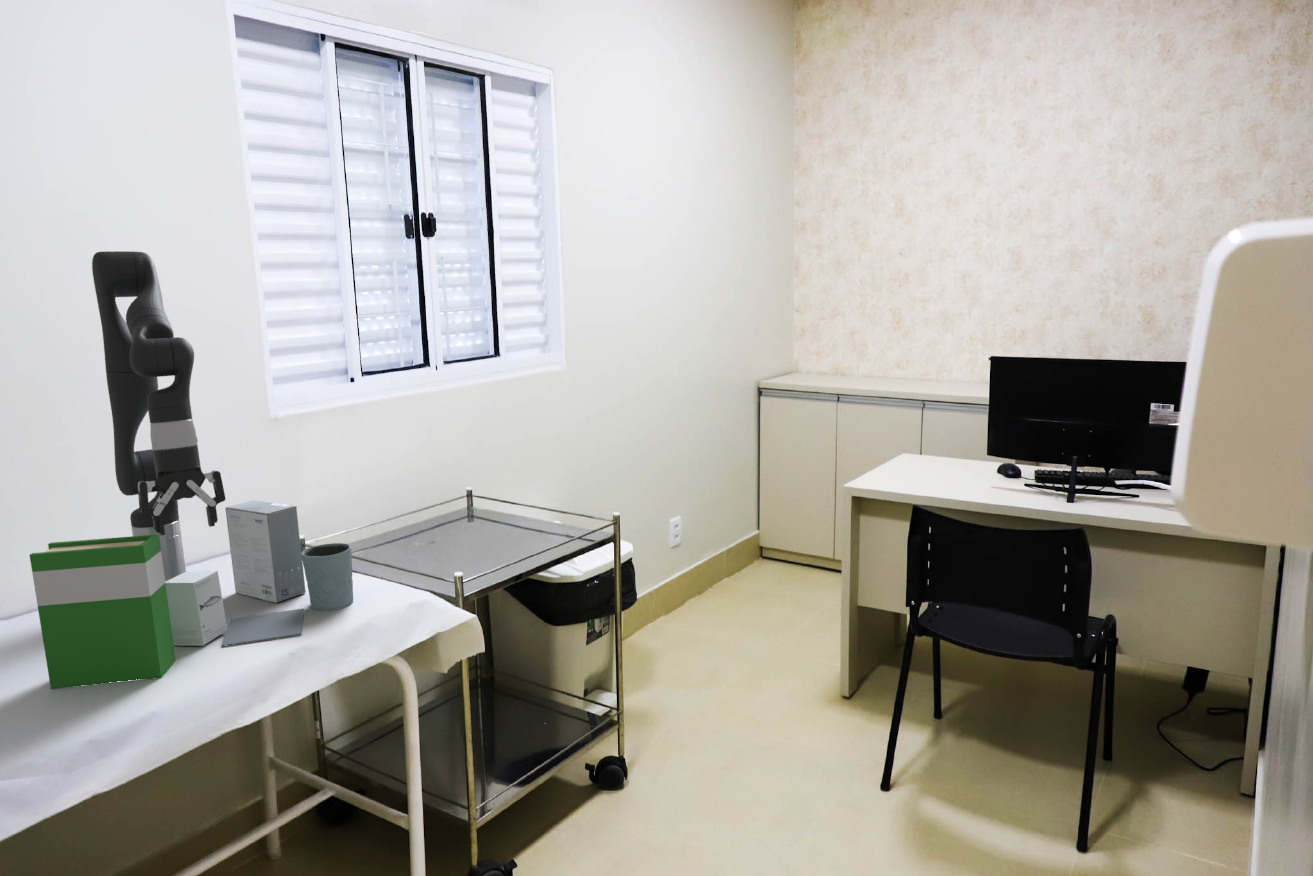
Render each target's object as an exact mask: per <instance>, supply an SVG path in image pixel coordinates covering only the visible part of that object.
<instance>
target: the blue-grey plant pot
mask: <svg viewBox="0 0 1313 876" xmlns="http://www.w3.org/2000/svg"><path fill="white" fill-rule="evenodd" d="M352 555H353V554H352V545H351V544H349V543H340V542H338V543H334V542H333V543H325V544H319V545H314V546H310V547H308V548H305V549H304V550H301V556H302V563H303V571H304V575H305V580H306V583H307V589H308V590H307V591H308V595H309V602H310V606H311V609H312V610H316V611H321V610H325V611H327V610H328V611H334V610H339V609H338V608H340V609H343V608H346V607H349V606H350V605H351V604H353V602H354V587H353V586H354V585H353V584H354V582H353V563H352V562H353V560H352V559H353V558H352ZM349 604H350V605H349Z"/></svg>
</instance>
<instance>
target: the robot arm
mask: <svg viewBox="0 0 1313 876" xmlns="http://www.w3.org/2000/svg"><path fill="white" fill-rule="evenodd" d="M91 271H92V278H93V285H94V290H95V296H96V301H97V306H98V312H99V318H100V319H99V320H100V324H101V330H102V341H103V351H104V352H103V353H104V363H105V366H104V367H105V375H106V385H107V390H108V396H109V402H110V403H109V404H110V409H111V416H112V418H111V419H112V425H113V426H112V427H113V429H112V430H113V444H114V446H113V447H114V469H115V478H116V483H117V486H118V489H119V491H120V492H121V494H122V495H124V496H135V495H137V496H138V506H139V507H138V508H136V509H134V510H133V511H132V512H131V514H130V518H129V519H130V525H131V526H130V527H131V534H132V536H144V535H158V534H159V539H160V547H161V554H162V562H163V569H164V577H165V581H168V580H170V579H172V578H174V577H176V576H178V575H180V574H182V573H184V572H187V570H186V569H187V568H186V562H185V561H186V560H185V552H184V545H183V538H182V531H181V523H180V515H179V503H178V501H179V500H182V499H192V498H194V497H195V496H197V498H199V499H200V500H201V501H202V502H203V503H204V504H206V506H205V509H206V510H205V511H206V517H207V524H208V527H209V528H211V527H215V526H216V523H218V519H219V518H218V512H217V505H218V504H221V503H223V502H225V501H226V493H225V489H224V485H223V479H222V475H221V472H220V471H218V470H211V472H206V473H205V472H203V471H202V465H201V461H200V453H199V445H198V442H199V441H198V437H197V432H196V428H195V425H194V420H193V413H192V407H191V399H190V397H191V396H190V391H191V390H190V389H191V379H192V374H193V373H192V372H193V367H194V362H195V352H194V348H193V346H192V344H191V343H190V341H189V340H187V339H185V338H184V337H179V336H178V337H175V336H174V330H173V328H172V326H171V323H170V321H169V319H168V315H167V314H166V312H165V308H164V303H163V296H162V291H161V290H162V289H161V286H160V281H159V277H158V272H157V269H156V266H155V262H154V261H153V258H152V257H151V256H150V255H149V254H148V253H146V252H142V251H127V250H126V251H122V250H121V251H117V250H116V251H115V250H114V251H108V250H107V251H96V253H94V254H93V257H92V261H91ZM116 298H135V299H134V300H132V302H131V303H130V305H129V306H128V308H127V310H126V314H125V319H124V317H123V316H122V314H121V312H120V310H119V307H118V304H117V301H116ZM170 376H171V377H172V376H174V378H173V382H172V384H170V385H169V386H167V387H163V388H161V389H160V388H159V381H158V377H159V378H160V377H170ZM147 413H148V416H149V418H148V419H149V423H150V424H149V426H150V427H149V428H150V433H149V434H150V442H151V443H150V444H151V449H144V450H137V451H135V444H136V443H135V442H136V438H137V433H138V430H139V428H140V426H141V423H142V422H143V421H144V418H145V417H146V415H147ZM206 480H208V483H211V484H212V486H213V492H214V495H215V496H214V497H211V496H210V495H209V494H208V493H207V492H206V491H204V490H203V489H202V488H201V487H202V486H203V484H204V483H205V481H206ZM155 492H156V494H155V496H154V497H153V498H152V499H151V500H150V501H149V493H155Z"/></svg>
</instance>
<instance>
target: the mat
mask: <svg viewBox="0 0 1313 876" xmlns="http://www.w3.org/2000/svg"><path fill="white" fill-rule="evenodd" d="M304 613H305V609H304V607H303V608H297V609H296V608H295V609H289V610H282V611H276V612H275V611H274V612H268V613H267V612H266V613H261V614H255V615H254V614H253V615H245V616H240V617H232V618H230V620H229V623H228V625H227V632H225V633H224V638H223V640H222V644H221V647H222V646H225V645H233V644H240V645H243V644H242V643H246V644H250V642H253V643H258V642H259V641H260V642H264V641H265V640H267V641H273V640H277V639H276V638H280V639H286V638H293V636H294V637H299V636H302V633H303V632H302V631H303V623H304ZM272 639H273V640H272ZM247 642H248V643H247ZM233 646H234V645H233Z"/></svg>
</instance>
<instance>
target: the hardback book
mask: <svg viewBox="0 0 1313 876" xmlns="http://www.w3.org/2000/svg"><path fill="white" fill-rule="evenodd" d="M47 546H48V550H46V551H44V552H43V551H42V552H32V553H30V554H29V560H30V567H31V573H32V579H33V586H34V592H35V597H36V604H37V610H38V611H37V612H38V618H39V624H40V628H41V629H40V630H41V635H42V642H43V649H44V654H45V659H46V668H47V674H48V681H49V686H50V689H51V690H57V689H67V688H68V687H69V688H74V687H73V686H79V687H82V686H81V685H89V686H94V685H93V684H99V685H102V684H101V683H109V682H117V681H128V680H136V679H137V680H138V679H149V680H154V679H153V678H159V679H162V678H164V676H165V675H164V674H166V673H167V672H168V671H169V670H170V669H171V668H172V666H173V665H174V664H175V663H176V662H175V661H177V660H176V651H175V645H174V644H173V636H172V629H171V622H170V614H169V607H168V599H167V592H166V584H165V577H164V569H163V562H162V554H161V547H160V539H159V534H158V535H144V536H133V535H132V536H120V537H119V536H118V537H109V538H108V537H107V538H95V539H94V538H92V539H83V540H70V541H69V540H68V541H55V542H53V541H52V542H49V543H48V544H47ZM174 662H175V663H174ZM173 663H174V664H173ZM169 668H170V669H169ZM167 670H168V671H167ZM109 684H110V683H109Z"/></svg>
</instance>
